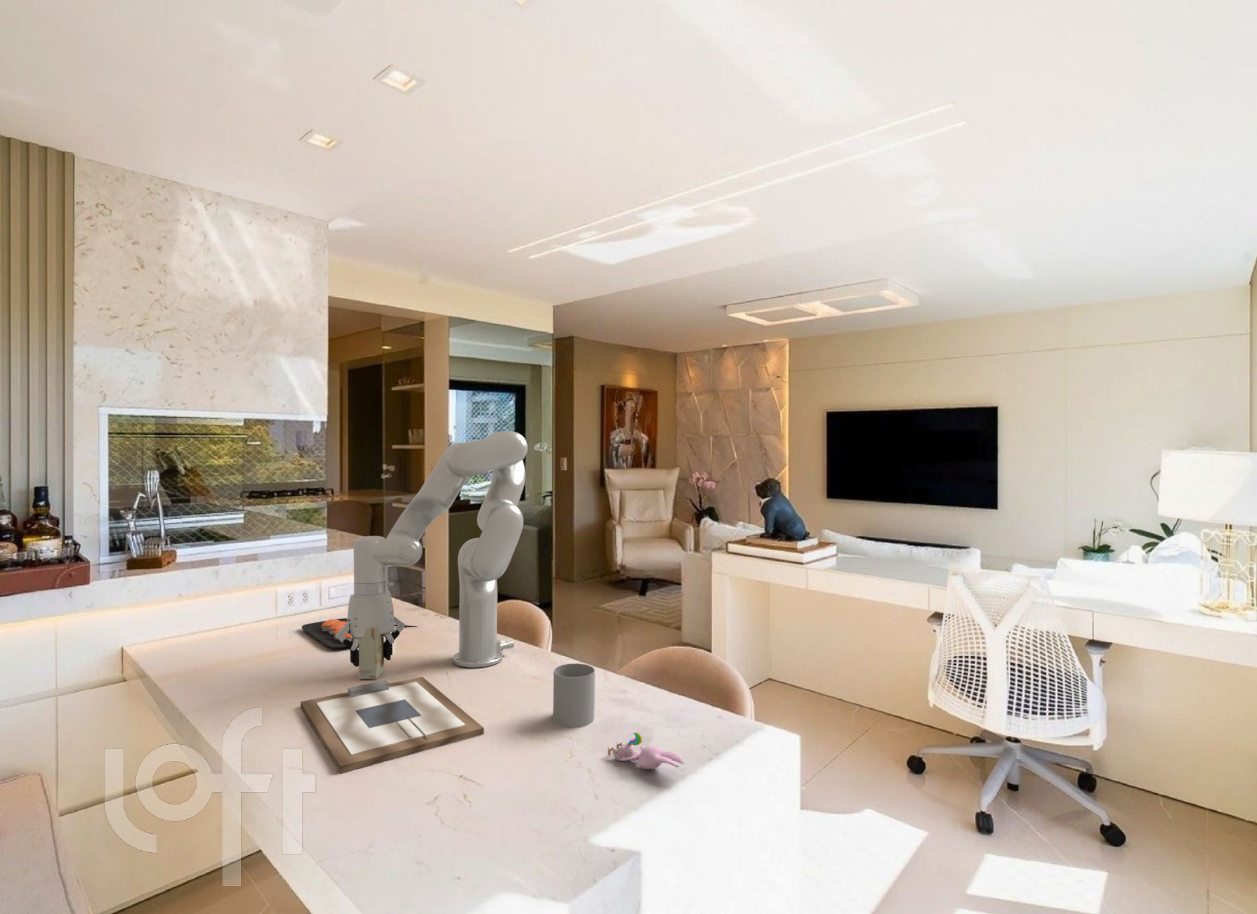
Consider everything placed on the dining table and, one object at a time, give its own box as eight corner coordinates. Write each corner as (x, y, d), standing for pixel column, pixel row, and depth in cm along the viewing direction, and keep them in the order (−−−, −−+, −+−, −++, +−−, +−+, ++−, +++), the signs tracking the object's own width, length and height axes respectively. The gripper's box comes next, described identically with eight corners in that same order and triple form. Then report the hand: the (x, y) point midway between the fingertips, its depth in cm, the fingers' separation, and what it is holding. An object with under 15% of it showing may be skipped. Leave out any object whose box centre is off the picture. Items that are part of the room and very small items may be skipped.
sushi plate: (298, 631, 193) (298, 618, 193) (396, 615, 214) (396, 603, 213) (331, 655, 172) (331, 641, 172) (437, 634, 192) (437, 621, 192)
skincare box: (377, 679, 153) (376, 628, 152) (358, 680, 152) (357, 628, 152) (385, 669, 159) (384, 620, 159) (367, 670, 159) (366, 620, 158)
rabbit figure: (602, 769, 115) (672, 782, 106) (598, 734, 115) (667, 745, 106) (624, 756, 120) (692, 768, 111) (620, 723, 120) (688, 732, 111)
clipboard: (422, 681, 152) (422, 669, 152) (483, 734, 125) (483, 719, 125) (300, 707, 136) (300, 694, 136) (340, 773, 109) (340, 757, 109)
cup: (600, 714, 135) (600, 666, 135) (585, 730, 127) (585, 679, 127) (563, 708, 138) (564, 661, 138) (546, 723, 130) (546, 674, 130)
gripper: (402, 580, 163) (403, 651, 164) (328, 590, 153) (329, 665, 153) (412, 586, 157) (412, 658, 158) (336, 596, 147) (336, 674, 147)
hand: (371, 661), depth 156 cm, fingers closed on skincare box, 6 cm apart
